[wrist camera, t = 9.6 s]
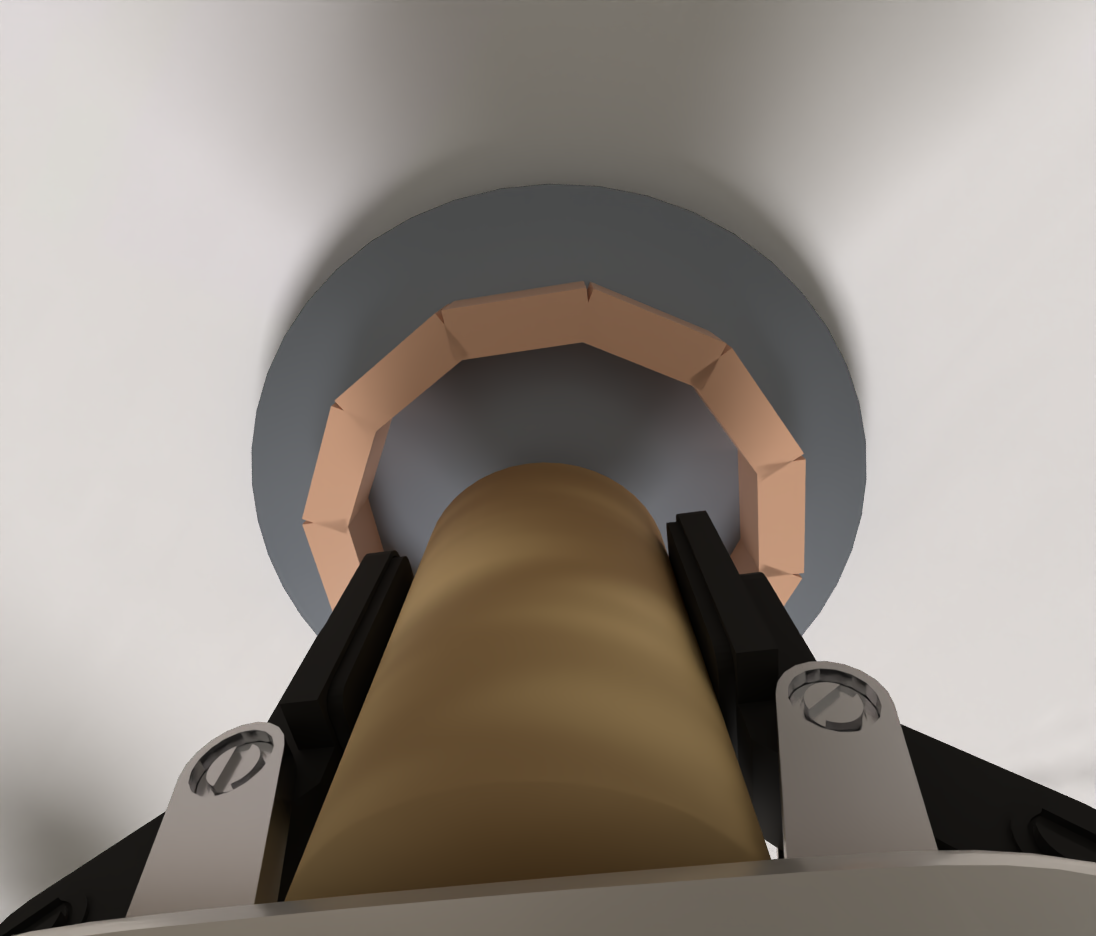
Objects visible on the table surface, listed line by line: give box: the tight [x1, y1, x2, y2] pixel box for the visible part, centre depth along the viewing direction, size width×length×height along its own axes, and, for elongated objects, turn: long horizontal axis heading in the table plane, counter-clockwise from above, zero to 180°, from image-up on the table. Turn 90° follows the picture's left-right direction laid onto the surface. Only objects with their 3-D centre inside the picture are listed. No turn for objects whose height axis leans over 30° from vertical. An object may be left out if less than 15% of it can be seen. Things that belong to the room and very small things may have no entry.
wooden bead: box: [284, 462, 771, 902], centre depth 9 cm, size 5×5×7 cm
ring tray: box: [252, 184, 866, 636], centre depth 14 cm, size 15×15×2 cm
